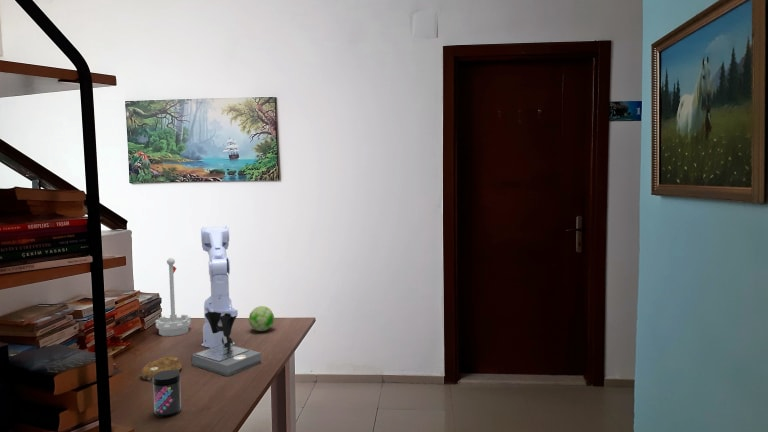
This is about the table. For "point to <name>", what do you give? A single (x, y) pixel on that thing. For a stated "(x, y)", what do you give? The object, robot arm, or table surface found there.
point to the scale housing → (228, 362)
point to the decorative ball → (261, 318)
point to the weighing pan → (221, 353)
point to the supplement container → (167, 393)
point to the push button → (224, 338)
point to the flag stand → (173, 312)
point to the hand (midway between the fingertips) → (221, 334)
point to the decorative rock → (160, 367)
